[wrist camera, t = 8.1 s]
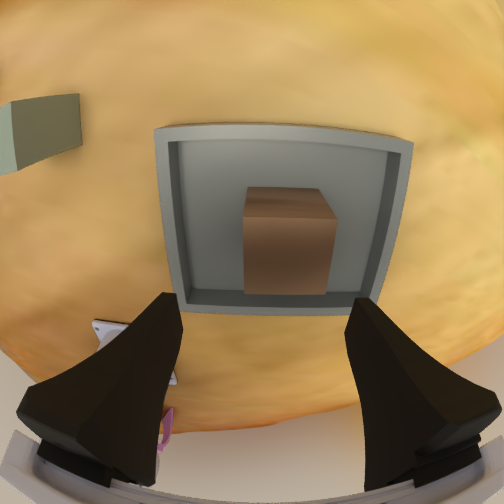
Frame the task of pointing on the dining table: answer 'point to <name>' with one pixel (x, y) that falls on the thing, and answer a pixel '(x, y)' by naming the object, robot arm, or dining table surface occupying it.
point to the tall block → (38, 130)
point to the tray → (276, 175)
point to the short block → (287, 241)
